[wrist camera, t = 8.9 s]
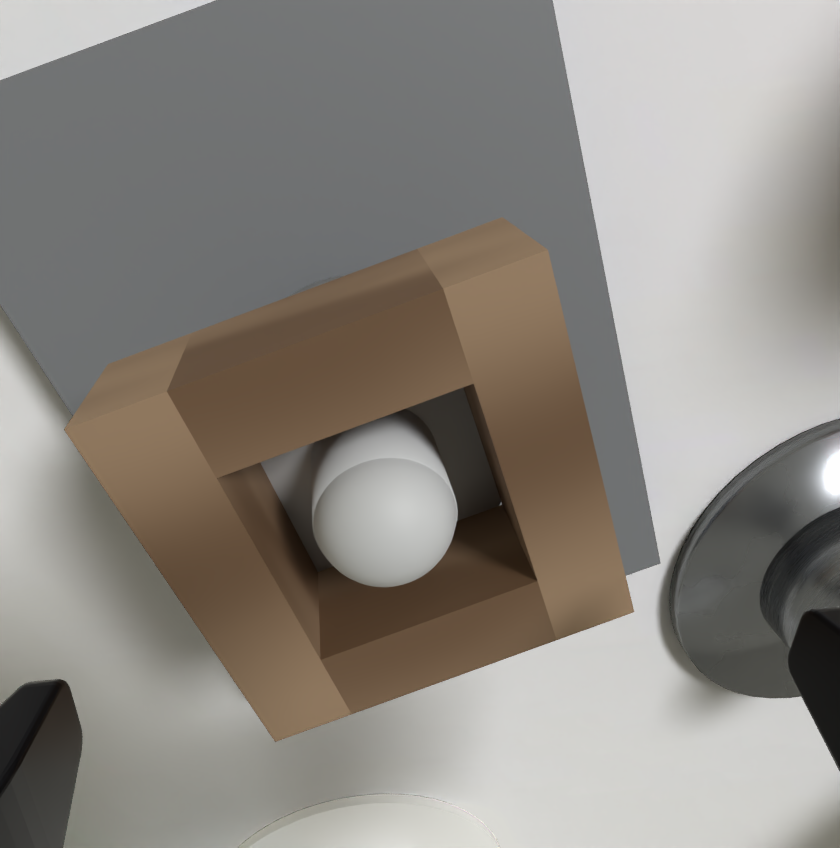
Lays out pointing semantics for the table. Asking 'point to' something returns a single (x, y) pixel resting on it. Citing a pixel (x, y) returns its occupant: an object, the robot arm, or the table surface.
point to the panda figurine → (377, 825)
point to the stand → (761, 565)
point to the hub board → (310, 225)
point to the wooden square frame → (342, 410)
